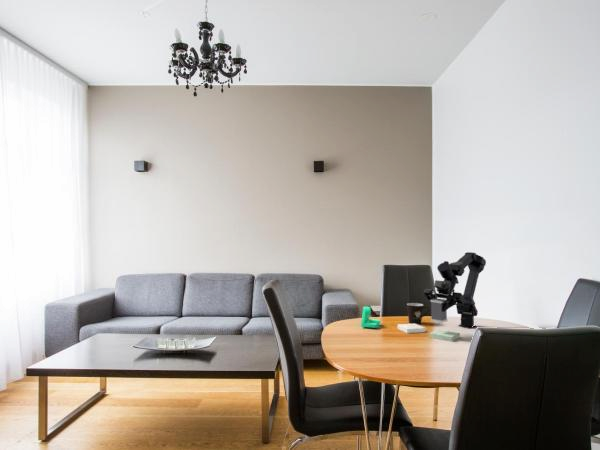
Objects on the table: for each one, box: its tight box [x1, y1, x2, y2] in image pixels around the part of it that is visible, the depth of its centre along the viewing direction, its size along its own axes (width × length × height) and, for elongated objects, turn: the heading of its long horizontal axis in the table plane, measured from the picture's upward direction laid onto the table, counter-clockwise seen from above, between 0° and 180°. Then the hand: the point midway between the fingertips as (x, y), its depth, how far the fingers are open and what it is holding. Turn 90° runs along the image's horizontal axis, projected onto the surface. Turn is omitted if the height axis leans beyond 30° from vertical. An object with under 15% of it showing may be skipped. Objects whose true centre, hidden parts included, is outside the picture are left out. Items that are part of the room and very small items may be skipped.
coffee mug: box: [406, 302, 430, 325], centre depth 213 cm, size 12×9×10 cm
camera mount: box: [360, 306, 381, 329], centre depth 206 cm, size 12×8×10 cm, turn 157°
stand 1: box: [396, 323, 427, 334], centre depth 197 cm, size 10×10×2 cm
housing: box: [430, 298, 448, 324], centre depth 185 cm, size 6×6×10 cm
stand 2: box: [429, 329, 461, 342], centre depth 183 cm, size 10×10×2 cm
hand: (437, 310), depth 184 cm, fingers closed on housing, 5 cm apart
